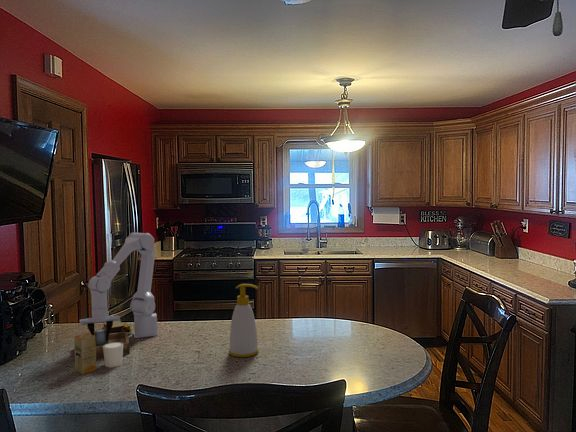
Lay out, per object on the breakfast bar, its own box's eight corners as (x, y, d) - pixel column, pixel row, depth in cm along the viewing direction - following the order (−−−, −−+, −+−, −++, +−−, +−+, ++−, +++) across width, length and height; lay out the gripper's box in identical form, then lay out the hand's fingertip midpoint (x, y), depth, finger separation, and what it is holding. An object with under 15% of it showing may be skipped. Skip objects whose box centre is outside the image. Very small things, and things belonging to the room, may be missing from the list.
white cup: (98, 366, 161) (98, 346, 161) (114, 359, 167) (113, 340, 167) (112, 369, 158) (112, 349, 157) (128, 362, 164) (127, 343, 163)
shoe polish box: (89, 366, 161) (88, 332, 160) (96, 369, 157) (95, 335, 157) (75, 370, 157) (74, 336, 156) (82, 374, 154) (81, 339, 153)
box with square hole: (127, 341, 188) (126, 331, 187) (129, 353, 173) (129, 343, 173) (79, 347, 181) (78, 337, 181) (77, 360, 166) (77, 350, 166)
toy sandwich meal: (104, 341, 189) (104, 329, 189) (98, 332, 200) (98, 322, 200) (135, 335, 196) (135, 324, 195) (128, 328, 207) (127, 317, 207)
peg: (106, 344, 182) (105, 329, 182) (106, 347, 178) (106, 331, 178) (95, 345, 180) (94, 330, 180) (95, 348, 177) (95, 333, 176)
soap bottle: (254, 359, 166) (253, 287, 165) (224, 357, 168) (223, 286, 167) (262, 348, 177) (261, 281, 176) (234, 346, 179) (233, 280, 178)
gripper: (79, 311, 172) (80, 346, 173) (119, 307, 178) (120, 341, 178) (79, 307, 178) (80, 341, 179) (119, 303, 184) (120, 336, 185)
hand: (100, 341), depth 179 cm, fingers closed on peg, 4 cm apart
